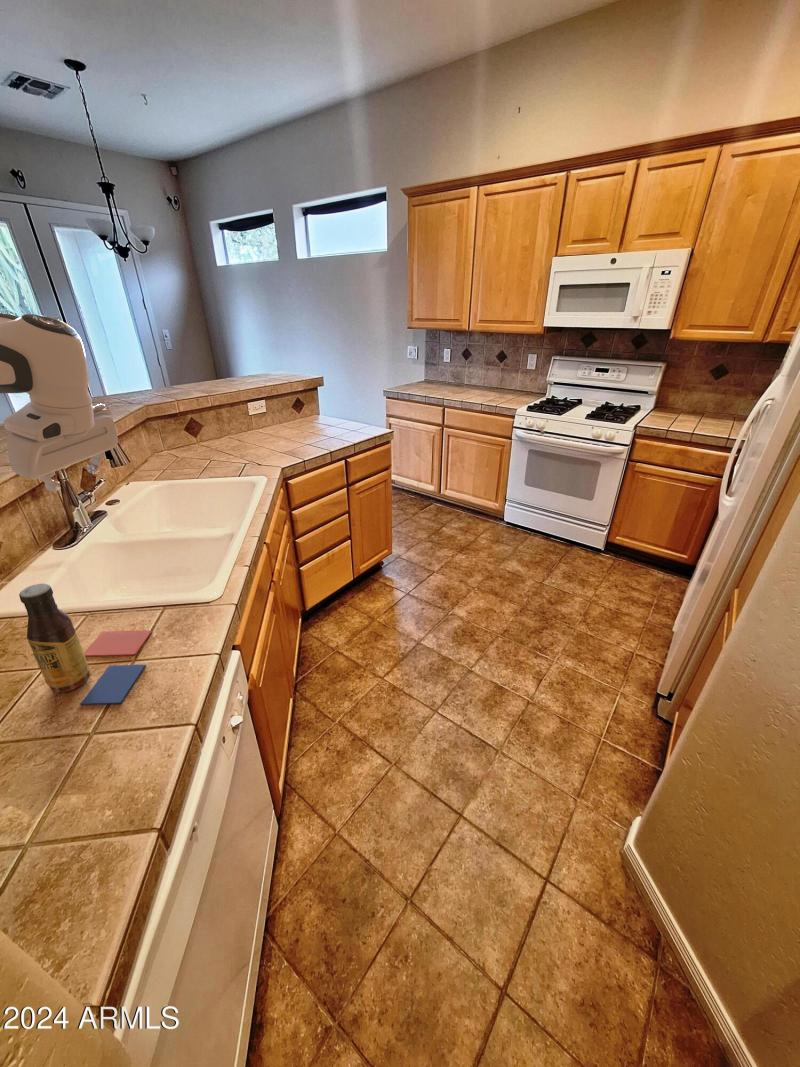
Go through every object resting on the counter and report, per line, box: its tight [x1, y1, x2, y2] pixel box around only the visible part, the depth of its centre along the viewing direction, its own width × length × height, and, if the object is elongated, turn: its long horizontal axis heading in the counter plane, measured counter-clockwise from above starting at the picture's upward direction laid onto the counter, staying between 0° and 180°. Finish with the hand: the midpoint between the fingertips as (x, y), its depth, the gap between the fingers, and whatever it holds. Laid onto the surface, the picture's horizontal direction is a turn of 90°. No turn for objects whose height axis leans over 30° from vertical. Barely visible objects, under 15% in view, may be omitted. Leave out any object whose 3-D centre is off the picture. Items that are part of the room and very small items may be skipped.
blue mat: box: [80, 664, 147, 706], centre depth 76 cm, size 7×9×1 cm
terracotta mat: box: [83, 629, 153, 658], centre depth 86 cm, size 10×7×1 cm
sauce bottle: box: [18, 582, 91, 693], centre depth 72 cm, size 6×6×20 cm
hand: (74, 480), depth 85 cm, fingers open, 8 cm apart
